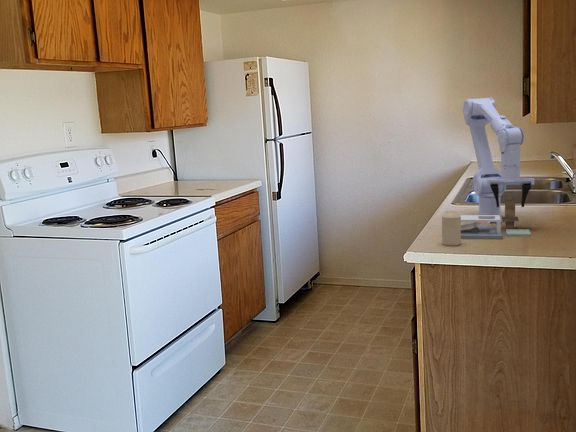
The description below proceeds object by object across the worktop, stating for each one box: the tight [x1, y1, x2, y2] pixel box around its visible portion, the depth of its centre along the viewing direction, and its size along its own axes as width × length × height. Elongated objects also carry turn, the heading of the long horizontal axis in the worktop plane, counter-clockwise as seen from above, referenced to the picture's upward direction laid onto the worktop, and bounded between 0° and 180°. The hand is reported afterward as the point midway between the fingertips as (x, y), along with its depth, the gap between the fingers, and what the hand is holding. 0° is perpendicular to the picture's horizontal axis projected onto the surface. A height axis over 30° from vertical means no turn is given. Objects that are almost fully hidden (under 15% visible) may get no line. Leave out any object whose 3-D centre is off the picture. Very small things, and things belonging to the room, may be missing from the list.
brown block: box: [501, 198, 519, 230], centre depth 200 cm, size 5×5×10 cm
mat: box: [505, 228, 532, 237], centre depth 193 cm, size 7×7×1 cm
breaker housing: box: [459, 214, 504, 240], centre depth 196 cm, size 14×16×5 cm
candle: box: [441, 210, 462, 247], centre depth 184 cm, size 6×6×10 cm
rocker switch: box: [461, 222, 491, 230], centre depth 195 cm, size 4×9×1 cm, turn 73°
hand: (510, 206), depth 199 cm, fingers open, 7 cm apart
